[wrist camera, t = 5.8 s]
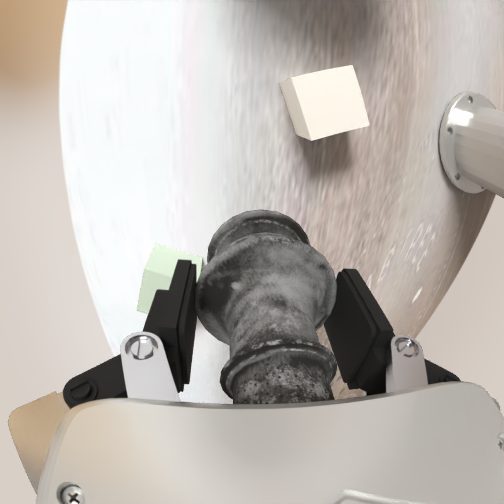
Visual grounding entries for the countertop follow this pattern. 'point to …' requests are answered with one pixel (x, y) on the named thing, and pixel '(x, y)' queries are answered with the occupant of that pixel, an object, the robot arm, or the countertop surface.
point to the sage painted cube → (161, 273)
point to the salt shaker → (268, 309)
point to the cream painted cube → (325, 102)
